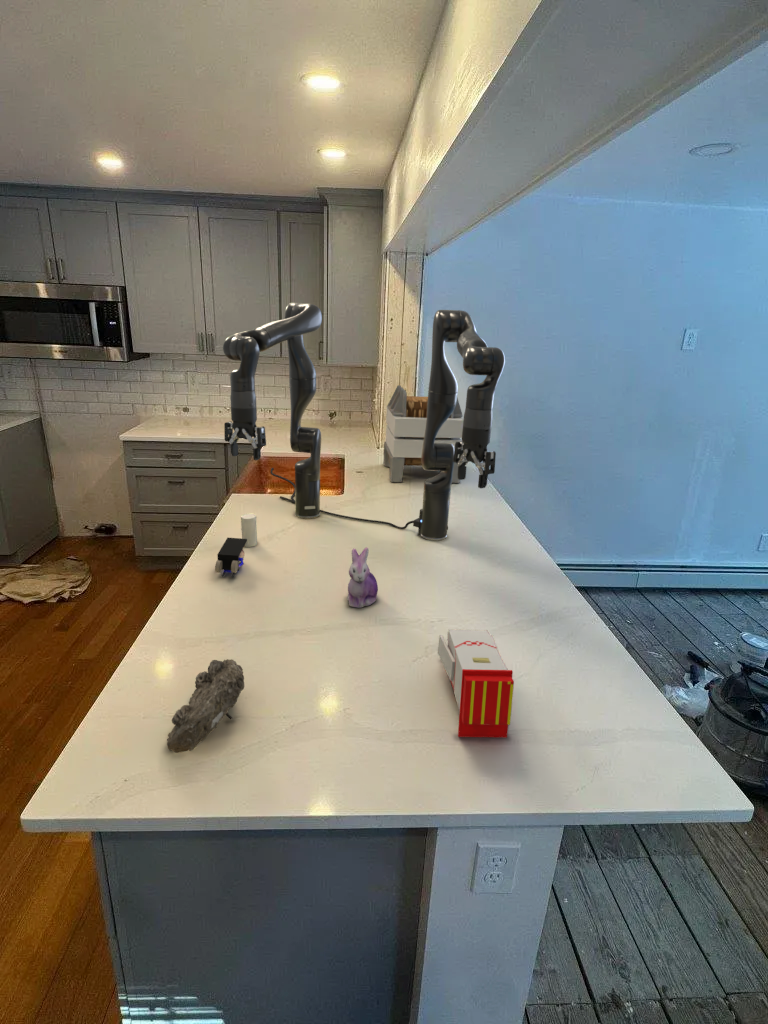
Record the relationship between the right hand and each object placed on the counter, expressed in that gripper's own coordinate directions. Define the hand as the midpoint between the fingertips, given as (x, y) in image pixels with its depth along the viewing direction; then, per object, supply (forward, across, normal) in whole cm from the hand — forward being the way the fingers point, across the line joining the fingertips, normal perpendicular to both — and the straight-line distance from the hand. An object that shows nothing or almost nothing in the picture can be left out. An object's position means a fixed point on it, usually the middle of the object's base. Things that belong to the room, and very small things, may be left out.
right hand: (471, 483), depth 156 cm
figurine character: (+30, -38, -56) cm, 74 cm away
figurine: (+30, -4, -31) cm, 44 cm away
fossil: (+30, +22, -80) cm, 88 cm away
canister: (+30, -54, -45) cm, 77 cm away
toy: (+30, +40, -31) cm, 59 cm away
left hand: (+1, -54, -45) cm, 71 cm away
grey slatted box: (+30, -101, +57) cm, 120 cm away
